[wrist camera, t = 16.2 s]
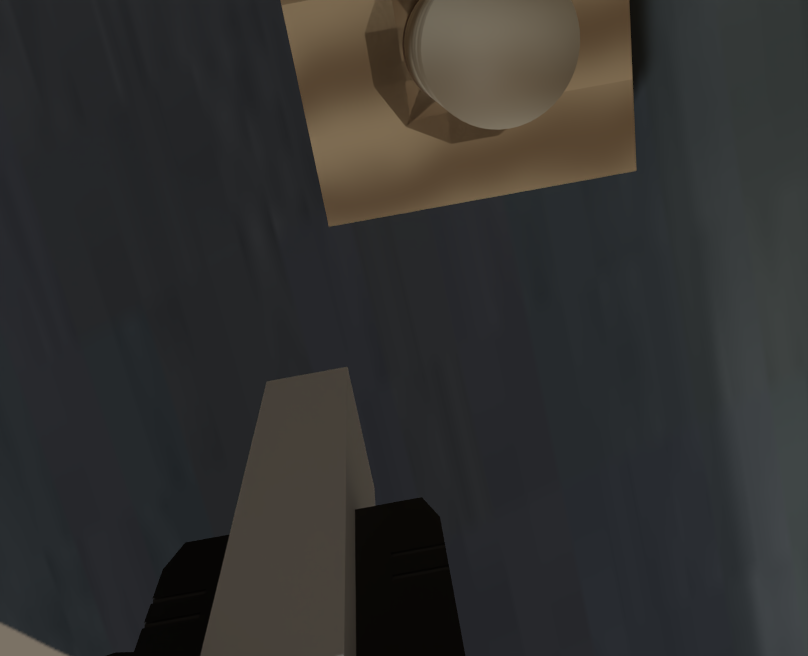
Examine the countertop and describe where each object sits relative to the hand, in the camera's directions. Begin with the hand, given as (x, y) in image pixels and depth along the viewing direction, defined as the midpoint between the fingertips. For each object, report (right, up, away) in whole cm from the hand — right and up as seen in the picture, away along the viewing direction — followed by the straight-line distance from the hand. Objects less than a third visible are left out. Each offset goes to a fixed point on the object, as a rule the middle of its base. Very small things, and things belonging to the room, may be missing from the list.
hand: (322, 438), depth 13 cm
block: (+4, +17, +25) cm, 31 cm away
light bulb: (+4, +17, +25) cm, 30 cm away
